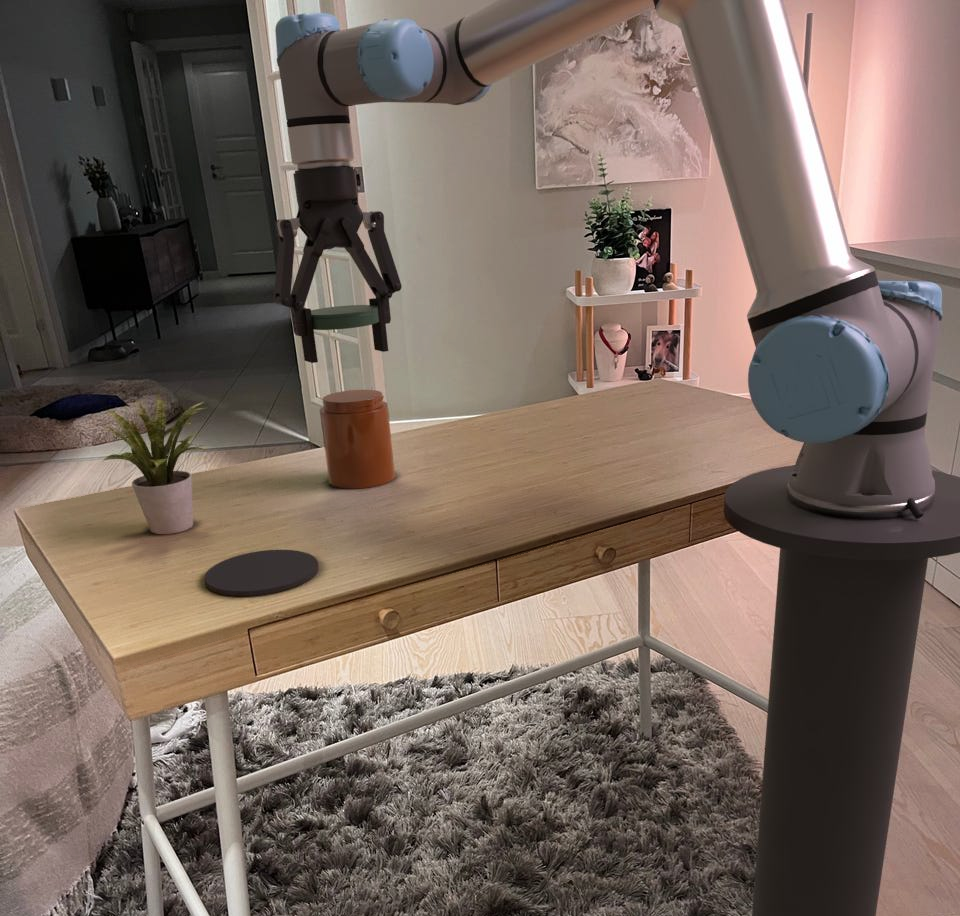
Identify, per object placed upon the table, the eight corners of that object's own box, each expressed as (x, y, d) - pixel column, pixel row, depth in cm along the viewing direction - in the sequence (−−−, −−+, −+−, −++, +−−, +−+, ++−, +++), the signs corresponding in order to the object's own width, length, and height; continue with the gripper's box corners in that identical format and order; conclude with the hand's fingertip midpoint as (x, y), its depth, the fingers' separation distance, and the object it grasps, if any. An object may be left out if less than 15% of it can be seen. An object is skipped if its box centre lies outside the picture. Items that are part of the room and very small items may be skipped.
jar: (406, 479, 134) (398, 395, 129) (345, 493, 130) (334, 406, 125) (377, 466, 141) (368, 385, 136) (318, 478, 137) (307, 396, 132)
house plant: (246, 534, 117) (222, 397, 110) (127, 557, 112) (94, 415, 105) (222, 504, 128) (199, 379, 121) (113, 524, 124) (83, 394, 116)
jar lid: (299, 324, 128) (297, 310, 128) (368, 316, 131) (366, 302, 130) (315, 332, 120) (313, 317, 119) (387, 323, 123) (386, 308, 122)
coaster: (336, 576, 102) (335, 571, 102) (225, 606, 97) (224, 600, 97) (294, 546, 112) (293, 541, 111) (191, 571, 106) (190, 566, 106)
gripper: (391, 162, 126) (408, 341, 135) (225, 172, 116) (257, 365, 125) (418, 159, 120) (434, 346, 129) (246, 170, 110) (277, 371, 119)
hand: (346, 355), depth 127 cm, fingers closed on jar lid, 9 cm apart
